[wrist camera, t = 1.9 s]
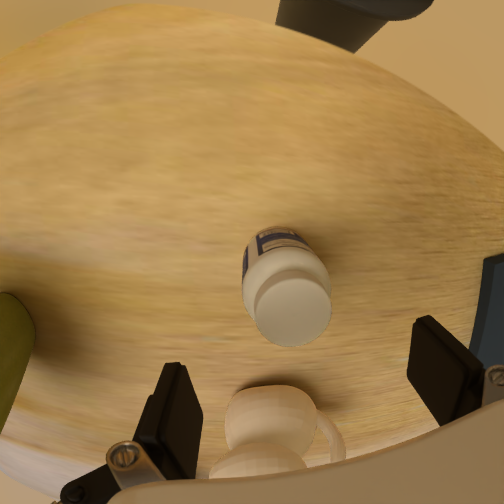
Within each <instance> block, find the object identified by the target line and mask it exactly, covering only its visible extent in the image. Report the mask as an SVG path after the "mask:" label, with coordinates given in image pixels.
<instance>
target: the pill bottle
mask: <svg viewBox="0 0 504 504" xmlns="http://www.w3.org/2000/svg"><path fill="white" fill-rule="evenodd" d="M242 297H243V302H244V305H245V308H246V310H247V312H248V314H249V315H250V316H251V318H252V319H253V320H254V321H255V322H256V324H257V327H258V329H259V331H260V332H261V334H262V335H263V336H264V337H265V338H266V339H268V340H269V341H270V342H272V343H274V344H277V345H280V346H284V347H295V346H301V345H304V344H307V343H309V342H311V341H313V340H315V339H316V338H317V337H319V336H320V335H321V334H322V333H323V332H324V330H325V329H326V327H327V326H328V324H329V321H330V318H331V314H332V305H331V300H330V297H331V281H330V277H329V274H328V272H327V270H326V268H325V266H324V264H323V263H322V262H321V260H320V259H319V258H318V257H317V255H316V254H315V253H314V252H313V250H312V249H311V248H310V247H309V245H308V244H307V243H306V241H305V240H304V239H303V238H302V237H301V236H300V235H299V234H297V233H296V232H294V231H292V230H290V229H288V228H283V227H272V228H268V229H265V230H263V231H260V232H259V233H257V234H256V235H255V236H254V237H253V238H252V239H251V240H250V242H249V243H248V245H247V247H246V249H245V252H244V256H243V275H242Z"/></svg>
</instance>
